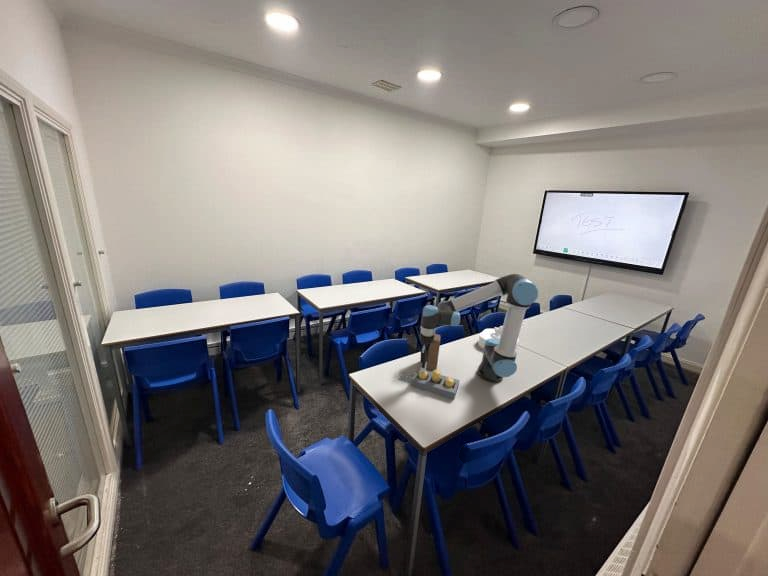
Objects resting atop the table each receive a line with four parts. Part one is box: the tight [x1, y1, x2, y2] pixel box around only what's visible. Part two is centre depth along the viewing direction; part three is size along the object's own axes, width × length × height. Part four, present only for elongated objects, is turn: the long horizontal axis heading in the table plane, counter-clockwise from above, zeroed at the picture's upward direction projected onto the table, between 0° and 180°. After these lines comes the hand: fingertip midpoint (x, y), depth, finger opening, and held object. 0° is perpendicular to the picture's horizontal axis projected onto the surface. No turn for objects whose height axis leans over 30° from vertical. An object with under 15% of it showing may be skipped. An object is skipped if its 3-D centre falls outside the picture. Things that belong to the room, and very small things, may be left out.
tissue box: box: [478, 325, 520, 352], centre depth 216 cm, size 25×25×16 cm
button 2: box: [431, 369, 442, 382], centre depth 165 cm, size 5×5×5 cm
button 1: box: [445, 376, 455, 388], centre depth 163 cm, size 5×5×5 cm
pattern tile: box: [399, 372, 415, 384], centre depth 173 cm, size 7×7×1 cm
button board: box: [410, 368, 460, 400], centre depth 166 cm, size 24×13×4 cm, turn 66°
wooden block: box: [419, 333, 441, 371], centre depth 184 cm, size 10×10×20 cm
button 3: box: [418, 370, 428, 380], centre depth 168 cm, size 5×5×5 cm
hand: (423, 371), depth 167 cm, fingers closed
